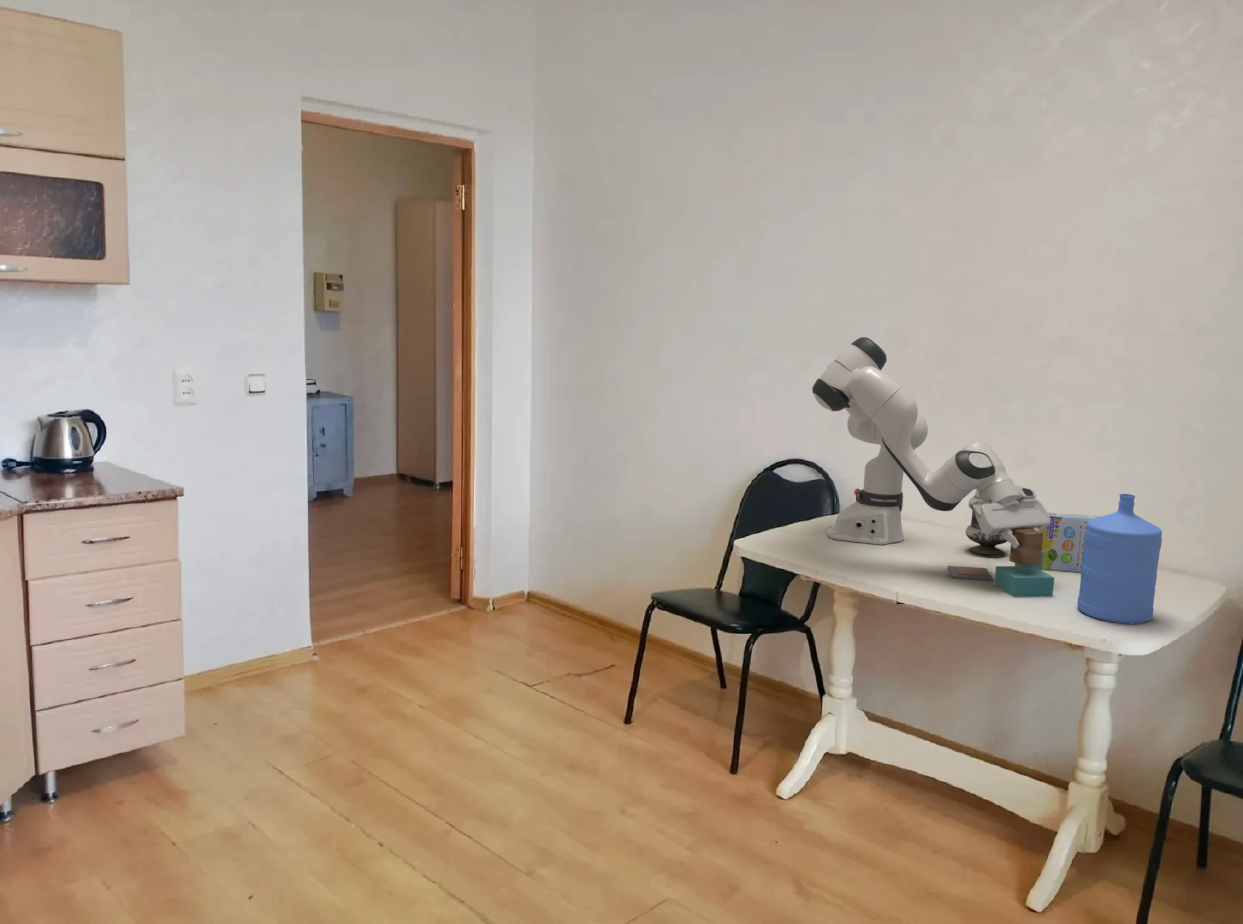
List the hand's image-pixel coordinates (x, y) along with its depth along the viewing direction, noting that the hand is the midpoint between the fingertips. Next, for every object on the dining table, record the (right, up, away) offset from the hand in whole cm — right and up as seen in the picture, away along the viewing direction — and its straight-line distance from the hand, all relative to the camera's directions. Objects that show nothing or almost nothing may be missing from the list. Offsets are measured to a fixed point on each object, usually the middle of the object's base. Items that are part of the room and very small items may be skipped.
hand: (1028, 546), depth 236 cm
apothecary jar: (+4, -5, +37) cm, 38 cm away
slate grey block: (+5, -10, +12) cm, 16 cm away
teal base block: (0, -11, +3) cm, 12 cm away
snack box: (+20, -8, +22) cm, 31 cm away
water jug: (+14, -15, -14) cm, 25 cm away
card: (-9, -9, +15) cm, 20 cm away
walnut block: (0, -4, +1) cm, 4 cm away
